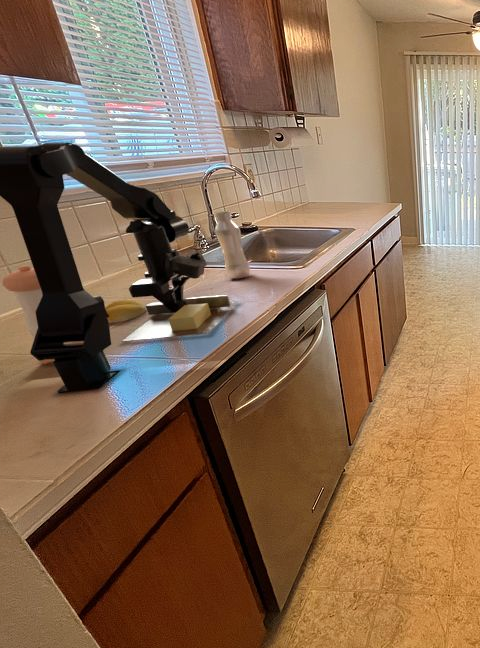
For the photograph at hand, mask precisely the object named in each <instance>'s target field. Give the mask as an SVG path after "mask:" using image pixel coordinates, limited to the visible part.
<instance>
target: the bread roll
mask: <svg viewBox="0 0 480 648" xmlns="http://www.w3.org/2000/svg"><path fill="white" fill-rule="evenodd" d="M105 309H106V312H107V313H108V315H109V318H107V319H108V322H109V324H111V323H120V322H126V321H128V320H132V319H135V318H137V317H141V316H142V315H143V314H145V313H146V311H147V309H146V306H145V305H143V303H141V302H139V301H137V300H133V299H120V300H115V301H112V302H111V303H109V304H107V305H105Z"/></svg>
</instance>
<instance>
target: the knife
mask: <svg viewBox="0 0 480 648" xmlns="http://www.w3.org/2000/svg"><path fill="white" fill-rule="evenodd" d="M208 296H209V297H205V296H196V297H197V298H194V297H186V298H183V300H176V302H177V307H178V310H180V309H181V308H182V307H183V306H184V305H193V304H205V303H208V306H209V308H220V307H231V304H230V303H231V301H230V297H229V294H224V295H222V294H221V295H208ZM145 309H146V311H147V313H148V315H149V316H155V315H157V314H166V313H173V312H172V311H170V310H169V309H168V308H167V307H166V306H164V305H163V304H162V303H161V302H160V301H154V302H150V303H148V304H146V305H145ZM174 313H176V312H174Z"/></svg>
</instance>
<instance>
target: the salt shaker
mask: <svg viewBox="0 0 480 648" xmlns="http://www.w3.org/2000/svg"><path fill="white" fill-rule="evenodd" d="M2 286H3V287H4V288H5V289H6V290H8V291H9V292H13V293H14V295H15V297H16V299H17V302H18V304H19V305H20V307H21V309H22V311H23V313H24V315H25V316H24V317H25V320H26V324H27V327H28V330H29V331H28V332H29V333H30V335H31V336H32V338H33V340H34V339H35V335H36V332H37V329H38V324H37V319H36V313H35V312H36V309H37V307H38V305H39V302H40V300H41V298H42V291H41V288H40V285H39V282H38V279H37V276H36V273H35V271H34V268H33V267H31V265H26V264H25V265H21V266H19V267H18V268H17V270H15V271H12V272H10V273H8V274H6V275H5V276H4V277H3V279H2ZM83 342H84V341H76V342H63V343H64V344H78V343H83ZM53 361H55V360H54V359H48V360H42V362H43V363H44V365H46V364H48V363H53Z"/></svg>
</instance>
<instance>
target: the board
mask: <svg viewBox="0 0 480 648" xmlns="http://www.w3.org/2000/svg"><path fill="white" fill-rule="evenodd" d="M230 304H231V307H220V308H217V309H213V310H210V312H211V315H210V316H209V317H208V318H207V319H206V320H205V321H204V322H203V323H202V324H201V325H200V326H199V327H198V328H197V329H189V330H178V331H172V328H171V326H170V323H169V320H168V319H169V318H170V317H171V316H172V315H174V314H175V313H166V314H155V315H153V316H152V317H151V318H150V319H148V321H146V322H144V323H143V324H142V325H140V327H138V328H137V329H136V330H134V331H133V332H132V333H130V334H129V335H127V336H126V337H125V338H124V339H123V340H122V342H132V341H142V340H143V341H144V340H152V339H165V338H174V337H184V336H195V335H197V336H198V335H208V334H210V333H211V331H213V329H215V327H216V326H217V325H218V324H219V323H220V322H221V321H222V319H223V318H224V317H226V316H227V314H228V313H229V312H230V311H231V310H232V309H233V308H234V307H235V305H236V304H237V301H235V302H230Z"/></svg>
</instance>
